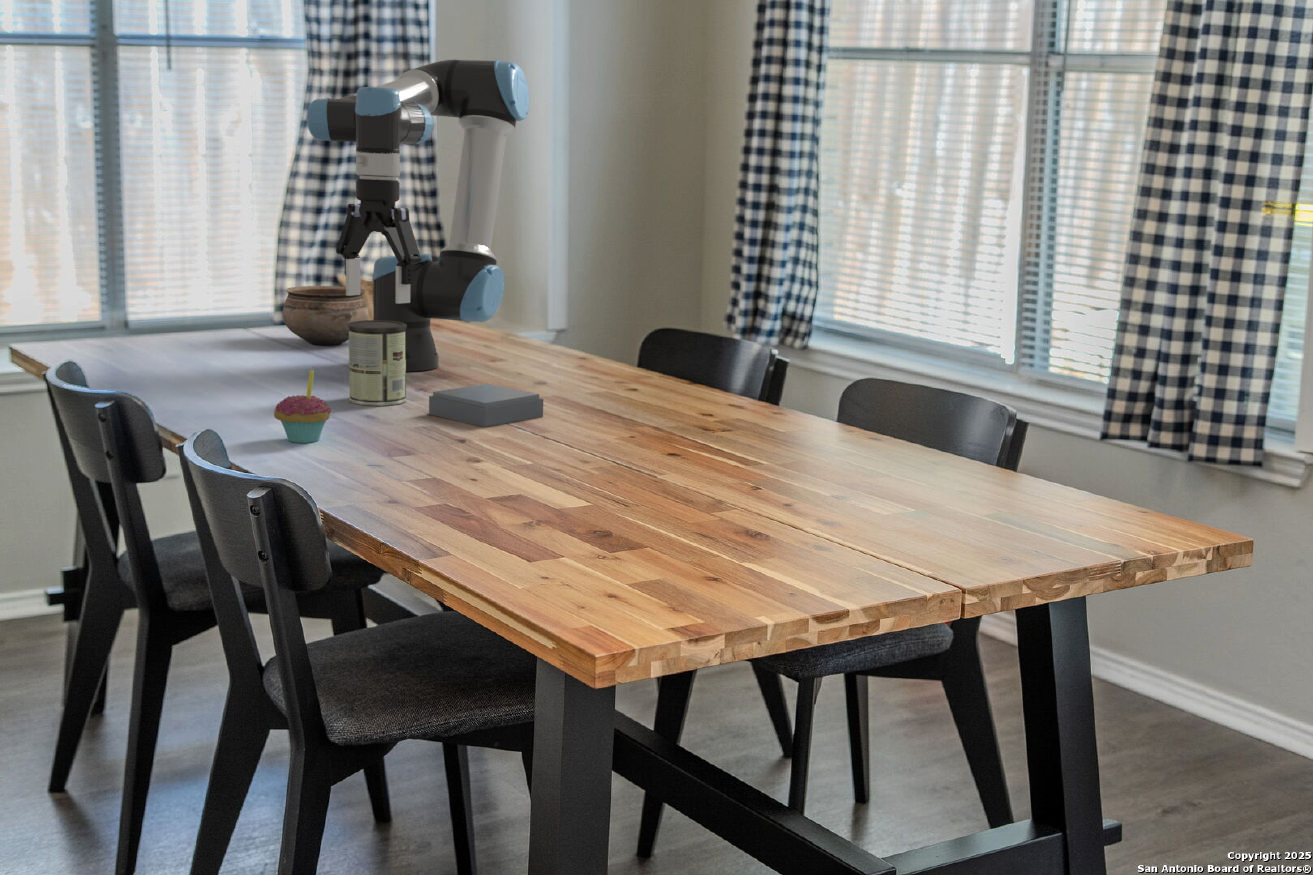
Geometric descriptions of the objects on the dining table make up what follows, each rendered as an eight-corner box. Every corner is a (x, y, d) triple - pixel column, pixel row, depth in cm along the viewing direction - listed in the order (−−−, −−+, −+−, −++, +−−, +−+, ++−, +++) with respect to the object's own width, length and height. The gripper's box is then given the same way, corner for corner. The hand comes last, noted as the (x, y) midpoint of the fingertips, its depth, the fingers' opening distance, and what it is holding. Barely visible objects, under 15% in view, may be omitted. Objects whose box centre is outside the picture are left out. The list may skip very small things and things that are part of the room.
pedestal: (428, 414, 238) (429, 391, 237) (487, 404, 249) (487, 382, 248) (485, 427, 229) (485, 403, 228) (542, 416, 240) (543, 394, 239)
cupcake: (341, 438, 217) (340, 363, 214) (311, 448, 209) (310, 371, 206) (294, 432, 219) (293, 358, 217) (263, 442, 212) (261, 365, 209)
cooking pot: (388, 350, 305) (388, 295, 303) (306, 354, 294) (306, 298, 292) (343, 334, 325) (343, 283, 322) (265, 338, 314) (264, 285, 312)
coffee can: (358, 394, 253) (358, 318, 250) (413, 397, 252) (413, 321, 249) (340, 404, 243) (340, 325, 240) (397, 407, 242) (397, 329, 239)
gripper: (315, 174, 244) (316, 293, 248) (408, 181, 229) (408, 307, 233) (349, 175, 250) (349, 290, 254) (442, 182, 235) (440, 305, 239)
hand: (377, 299), depth 244 cm, fingers open, 13 cm apart
